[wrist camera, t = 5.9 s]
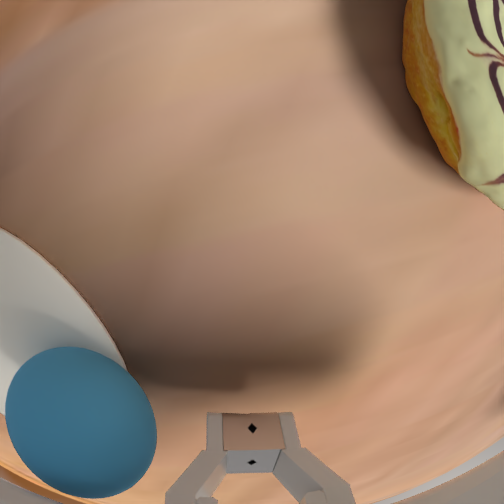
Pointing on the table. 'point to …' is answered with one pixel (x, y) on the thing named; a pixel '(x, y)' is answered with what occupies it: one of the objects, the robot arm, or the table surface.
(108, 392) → the ball
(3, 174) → the table surface
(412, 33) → the decorated donut
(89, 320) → the disc
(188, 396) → the table surface
